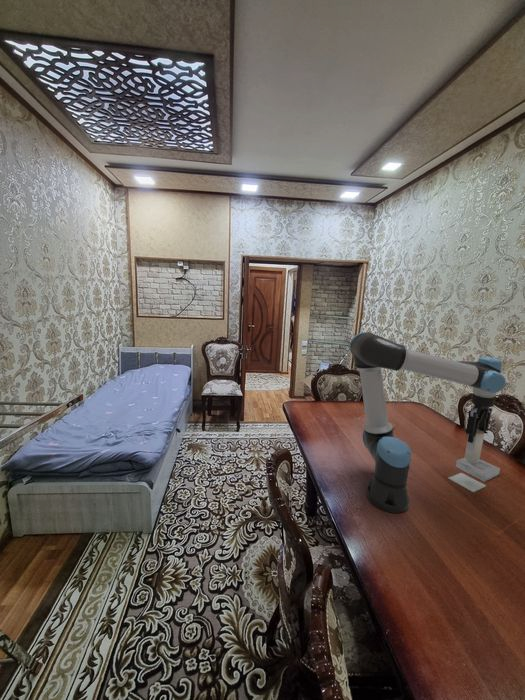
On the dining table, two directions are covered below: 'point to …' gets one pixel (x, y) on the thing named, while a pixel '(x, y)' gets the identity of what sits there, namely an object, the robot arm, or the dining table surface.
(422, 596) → the dining table surface
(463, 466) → the housing
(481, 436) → the off-white cylinder
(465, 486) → the pad
